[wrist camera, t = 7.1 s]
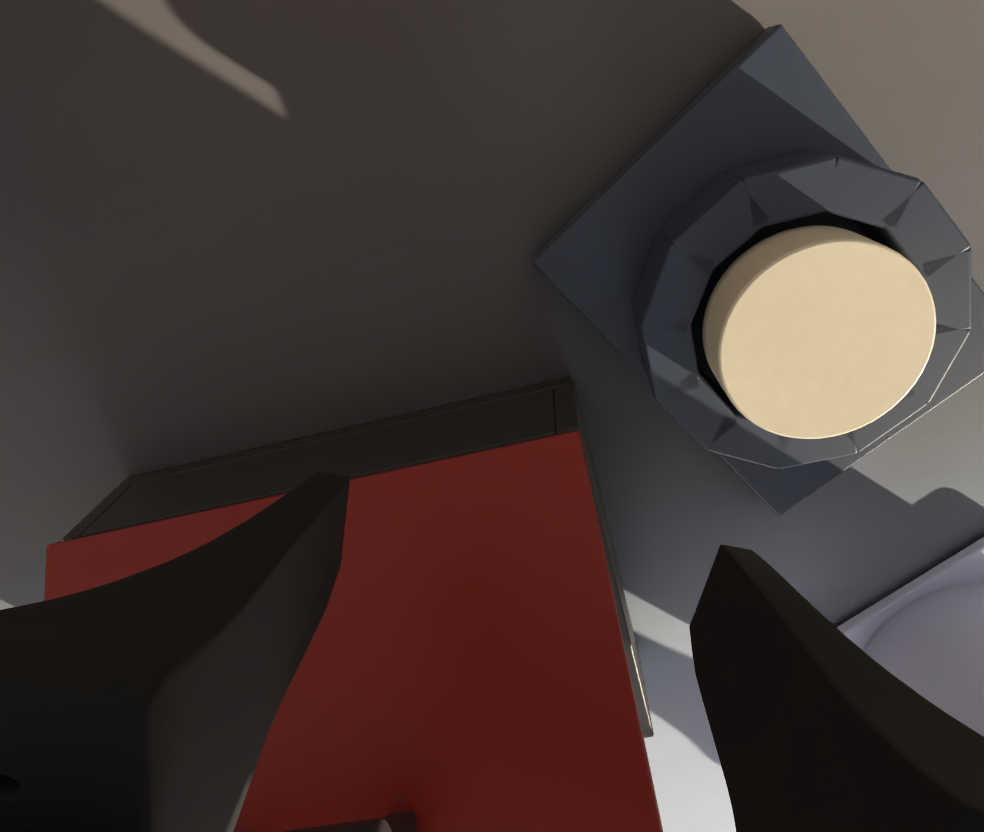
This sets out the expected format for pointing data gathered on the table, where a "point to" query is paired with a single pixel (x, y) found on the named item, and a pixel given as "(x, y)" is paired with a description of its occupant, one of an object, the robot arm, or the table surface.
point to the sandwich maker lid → (441, 655)
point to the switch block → (737, 227)
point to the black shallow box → (370, 471)
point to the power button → (818, 331)
